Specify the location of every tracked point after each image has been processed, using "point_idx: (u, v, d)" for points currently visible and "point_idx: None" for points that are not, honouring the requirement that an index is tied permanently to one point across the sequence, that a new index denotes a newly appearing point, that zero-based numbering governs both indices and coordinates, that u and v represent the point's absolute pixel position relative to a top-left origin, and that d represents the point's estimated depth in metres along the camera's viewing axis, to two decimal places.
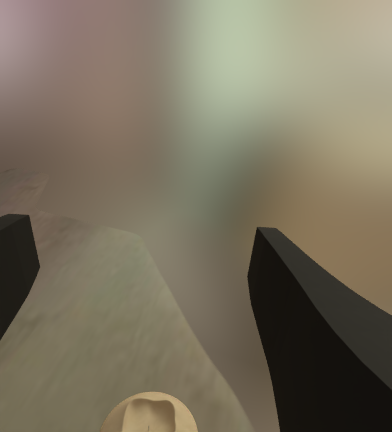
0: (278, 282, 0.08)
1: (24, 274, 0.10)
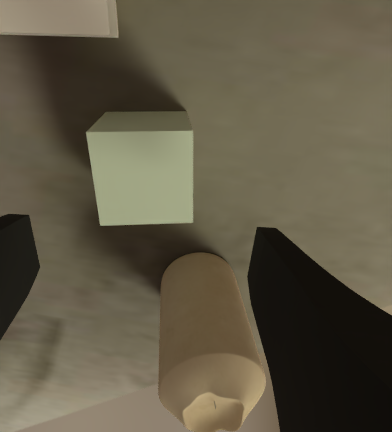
0: (278, 282, 0.08)
1: (24, 274, 0.10)
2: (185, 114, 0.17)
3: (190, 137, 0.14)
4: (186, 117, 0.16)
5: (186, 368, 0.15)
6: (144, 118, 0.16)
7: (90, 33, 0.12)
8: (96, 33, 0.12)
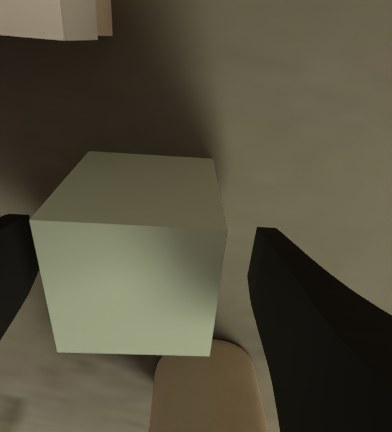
0: (278, 282, 0.08)
1: (24, 274, 0.10)
2: (211, 168, 0.11)
3: (221, 239, 0.08)
4: (213, 178, 0.10)
5: None
6: (145, 176, 0.10)
7: (22, 34, 0.06)
8: (35, 34, 0.06)
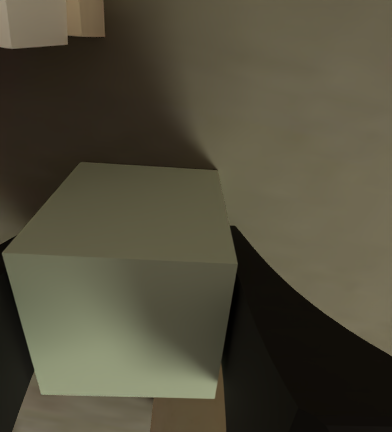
0: None
1: None
2: (216, 183, 0.10)
3: (230, 275, 0.06)
4: (219, 195, 0.09)
5: None
6: (141, 193, 0.09)
7: None
8: None
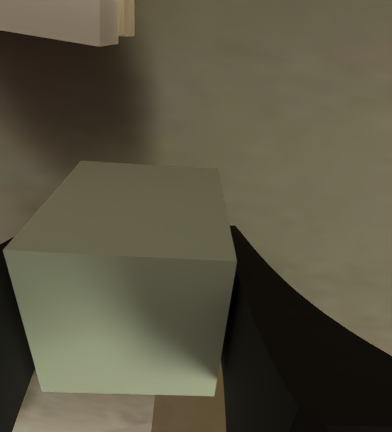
0: None
1: None
2: (216, 182, 0.10)
3: (229, 272, 0.06)
4: (218, 193, 0.09)
5: None
6: (141, 191, 0.09)
7: (71, 40, 0.08)
8: (80, 41, 0.08)
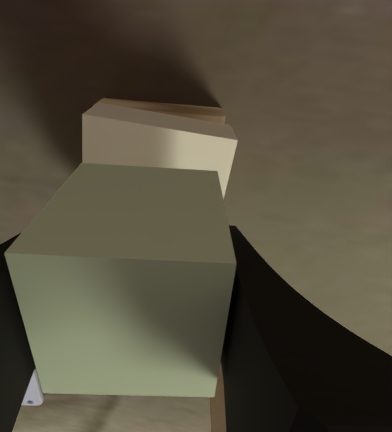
0: None
1: None
2: (216, 184, 0.10)
3: (229, 274, 0.06)
4: (218, 195, 0.09)
5: None
6: (141, 194, 0.09)
7: None
8: None
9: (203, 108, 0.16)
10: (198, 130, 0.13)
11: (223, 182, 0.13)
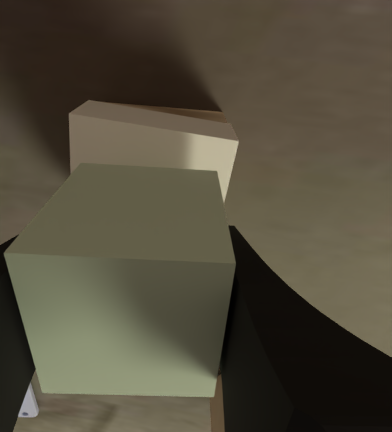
0: None
1: None
2: (215, 184, 0.10)
3: (228, 274, 0.06)
4: (218, 195, 0.09)
5: None
6: (141, 194, 0.09)
7: None
8: None
9: (203, 112, 0.15)
10: (196, 130, 0.12)
11: (223, 186, 0.12)
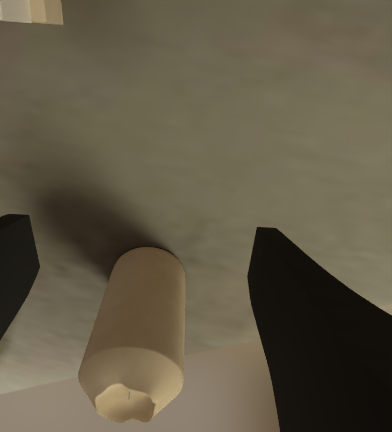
0: (278, 282, 0.08)
1: (24, 274, 0.10)
2: None
3: None
4: None
5: (101, 358, 0.16)
6: None
7: None
8: None
9: None
10: None
11: None
